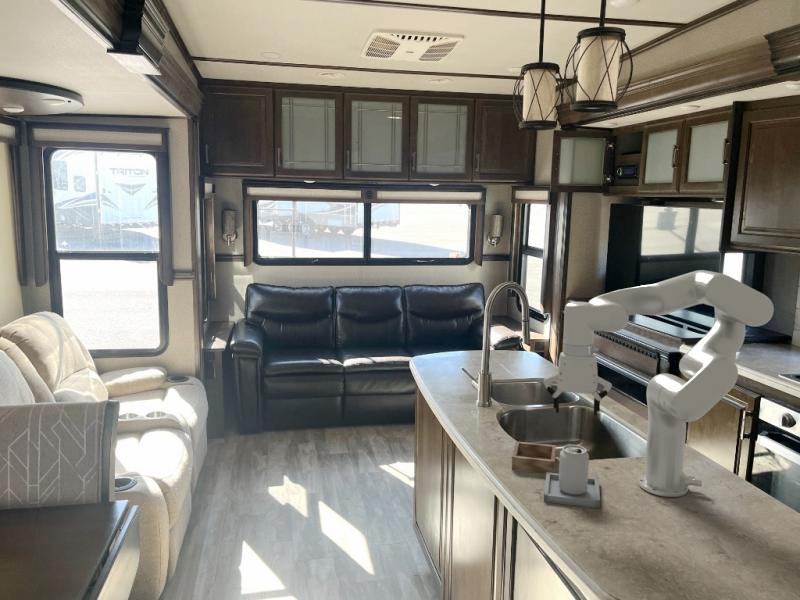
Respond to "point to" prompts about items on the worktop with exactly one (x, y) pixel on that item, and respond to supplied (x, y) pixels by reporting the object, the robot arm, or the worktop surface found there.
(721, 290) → the robot arm
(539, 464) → the caddy
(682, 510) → the worktop surface
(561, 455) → the can
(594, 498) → the tray
